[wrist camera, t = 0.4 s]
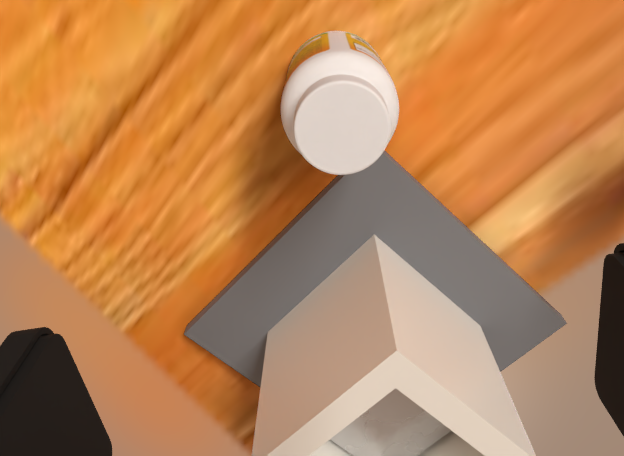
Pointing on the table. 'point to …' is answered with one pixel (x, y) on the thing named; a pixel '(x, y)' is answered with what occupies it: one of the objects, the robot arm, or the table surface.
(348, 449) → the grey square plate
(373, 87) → the supplement bottle
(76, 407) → the robot arm
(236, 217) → the table surface
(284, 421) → the sleeve
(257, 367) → the mat
